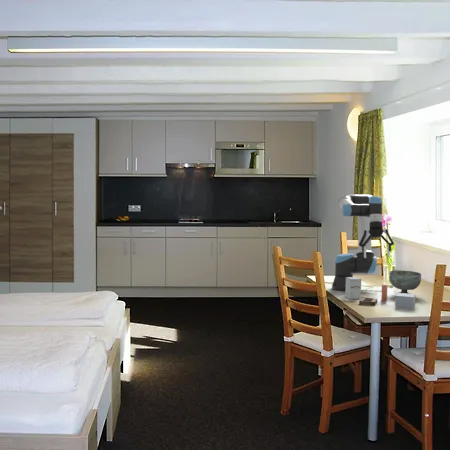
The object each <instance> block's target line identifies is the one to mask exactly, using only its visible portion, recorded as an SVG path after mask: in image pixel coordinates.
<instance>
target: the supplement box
mask: <svg viewBox="0 0 450 450" xmlns="http://www.w3.org/2000/svg"><path fill="white" fill-rule="evenodd" d="M344 292H345V294H344V295H345V298H346V299H348V300H360V299H361V298H362V296H361V295H362V278H360V277H358V276H356V277H355V276H353V277H346V289H345V291H344Z"/></svg>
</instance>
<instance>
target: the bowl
mask: <svg viewBox="0 0 450 450" xmlns="http://www.w3.org/2000/svg"><path fill="white" fill-rule="evenodd" d="M388 279H389V282H390V284H391V286H393V287H394V288H396V289H397V290H401V291H399V292H397V293H407V294H412V293H411V292H408V291H412V290H415V289H417V288H418V287H419V286H420V284H421V282H422V273H421V272H418V271H412V270H398V269H396V270H395V269H394V270H390V271H389V276H388ZM397 293H396V294H397ZM396 294H395V295H396Z"/></svg>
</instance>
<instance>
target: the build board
mask: <svg viewBox="0 0 450 450" xmlns="http://www.w3.org/2000/svg"><path fill="white" fill-rule="evenodd" d="M358 300H359V301H358V305H362V306H373V307H375V306H376V305H377V303H378V298H375V297H373V298H372V297H362V296H361V299H358Z"/></svg>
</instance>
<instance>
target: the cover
mask: <svg viewBox="0 0 450 450" xmlns="http://www.w3.org/2000/svg"><path fill="white" fill-rule="evenodd" d="M415 306H416V293H411V294H407V293H398V292H397V294H395V303H394V308H395V309H404V310H406V309H407V310H414V308H415Z"/></svg>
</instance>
